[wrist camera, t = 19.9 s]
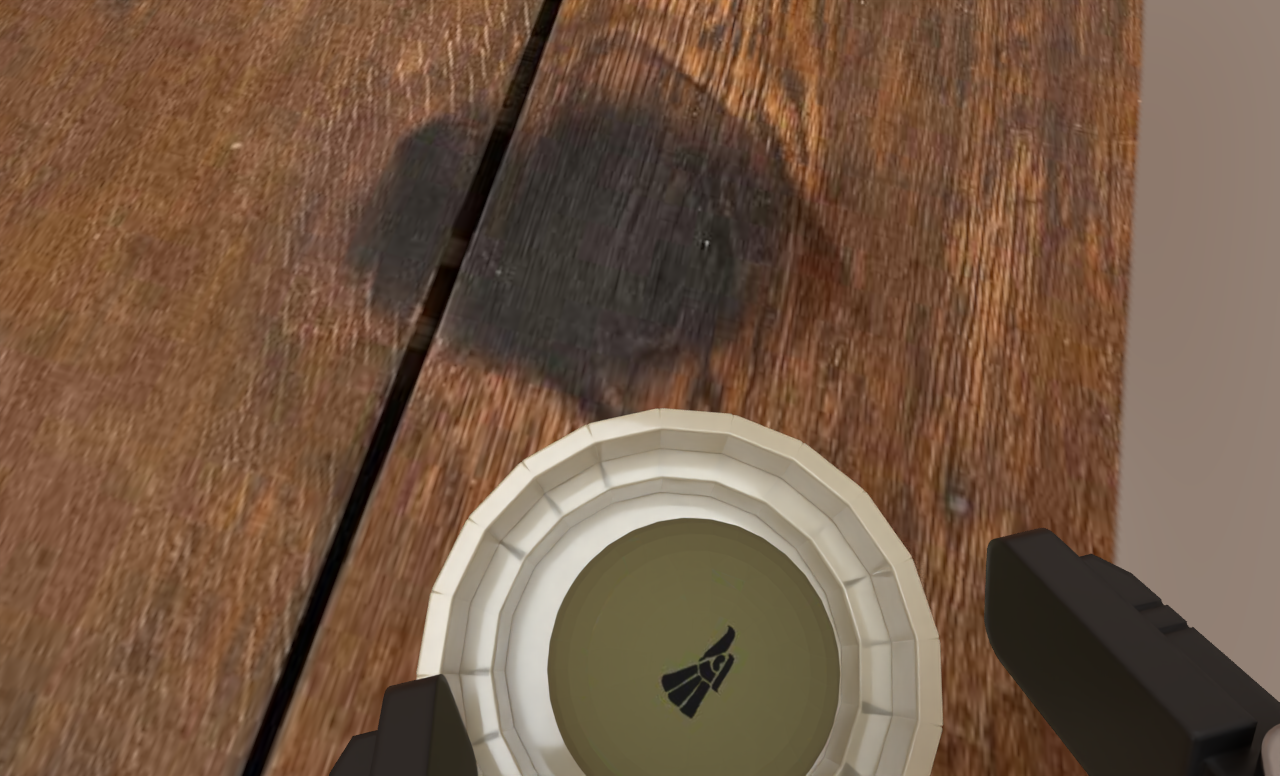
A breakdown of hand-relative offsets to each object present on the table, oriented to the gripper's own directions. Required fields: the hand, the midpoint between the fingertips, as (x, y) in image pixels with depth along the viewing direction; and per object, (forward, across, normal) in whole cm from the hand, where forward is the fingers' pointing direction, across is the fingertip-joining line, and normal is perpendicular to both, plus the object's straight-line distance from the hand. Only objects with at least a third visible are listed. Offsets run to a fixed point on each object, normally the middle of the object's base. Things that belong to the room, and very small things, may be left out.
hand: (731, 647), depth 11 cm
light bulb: (+8, 0, -8) cm, 11 cm away
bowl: (+8, 0, -8) cm, 12 cm away
